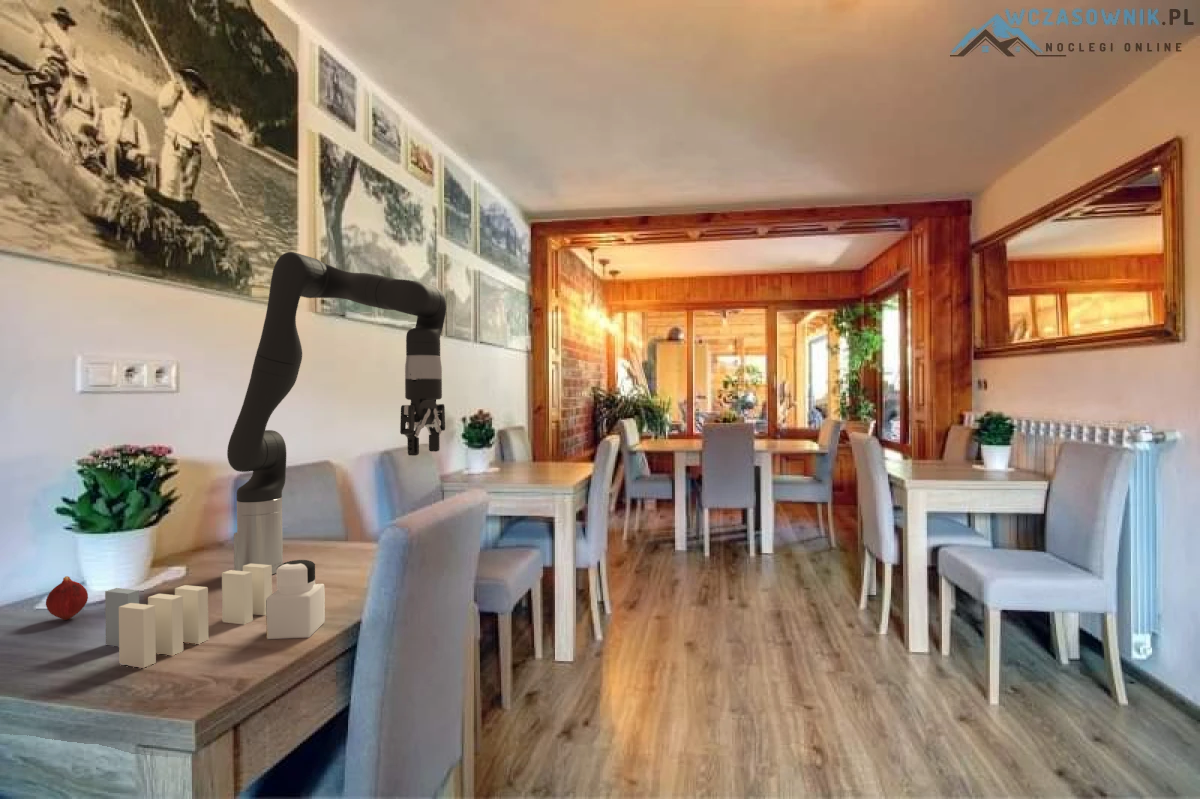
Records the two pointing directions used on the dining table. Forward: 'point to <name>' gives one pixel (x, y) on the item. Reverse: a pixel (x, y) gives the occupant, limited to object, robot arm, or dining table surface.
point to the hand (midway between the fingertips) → (424, 453)
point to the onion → (66, 599)
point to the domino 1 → (116, 611)
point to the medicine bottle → (295, 602)
